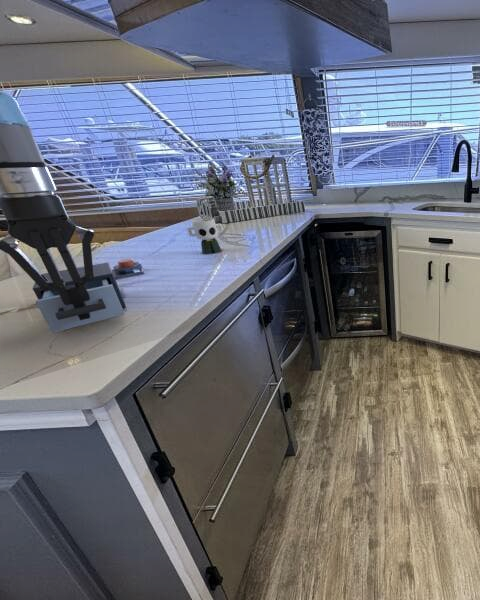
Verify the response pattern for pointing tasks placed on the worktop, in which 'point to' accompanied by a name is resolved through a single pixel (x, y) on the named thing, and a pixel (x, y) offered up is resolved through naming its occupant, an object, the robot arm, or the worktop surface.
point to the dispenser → (98, 271)
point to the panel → (127, 271)
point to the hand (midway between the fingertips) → (85, 317)
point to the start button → (126, 263)
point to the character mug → (206, 234)
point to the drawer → (66, 316)
